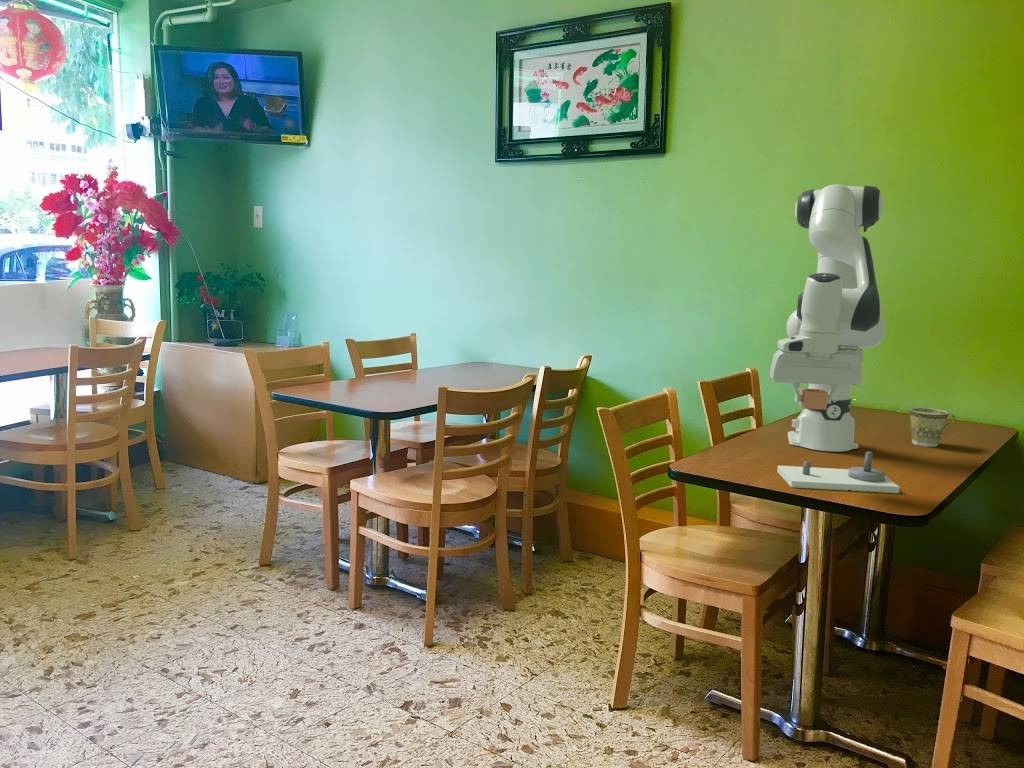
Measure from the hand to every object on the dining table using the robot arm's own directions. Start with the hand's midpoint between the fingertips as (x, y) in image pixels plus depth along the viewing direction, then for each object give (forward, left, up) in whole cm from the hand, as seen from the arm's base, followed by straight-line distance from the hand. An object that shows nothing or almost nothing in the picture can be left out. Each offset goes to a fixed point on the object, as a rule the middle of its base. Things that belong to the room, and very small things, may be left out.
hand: (812, 402), depth 191 cm
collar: (0, 0, -1) cm, 1 cm away
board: (0, +7, -19) cm, 20 cm away
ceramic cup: (-48, +48, -19) cm, 71 cm away
